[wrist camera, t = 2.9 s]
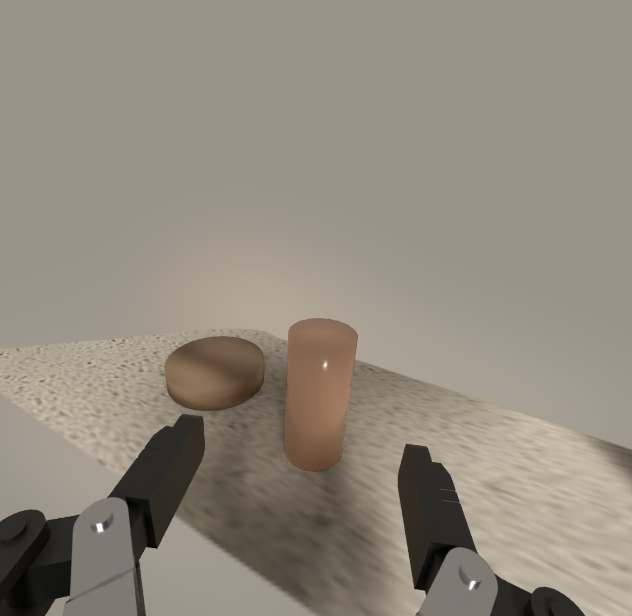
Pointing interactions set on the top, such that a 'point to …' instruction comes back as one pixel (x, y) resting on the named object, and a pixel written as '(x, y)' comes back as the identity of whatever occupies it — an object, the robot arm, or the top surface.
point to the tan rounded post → (318, 391)
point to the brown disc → (214, 373)
